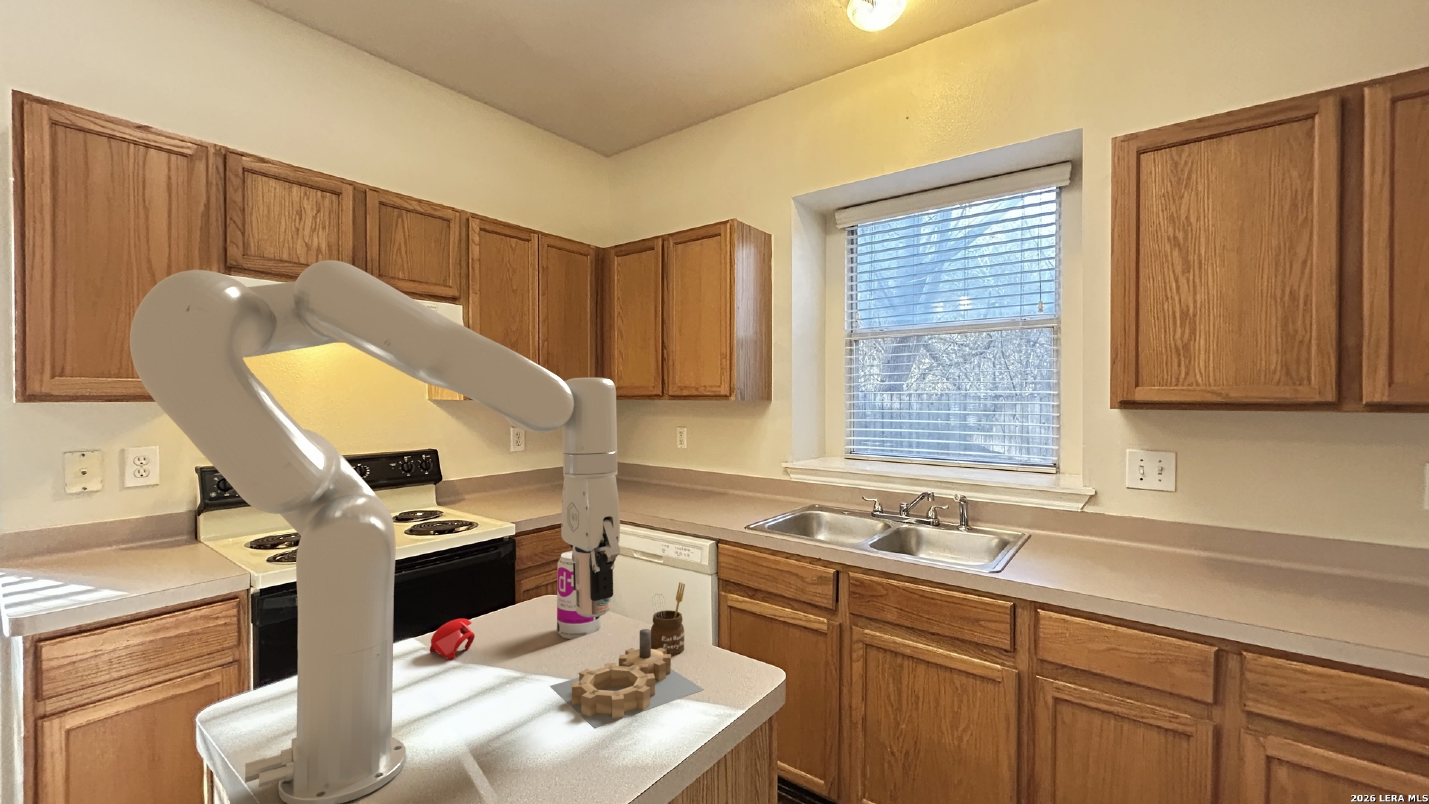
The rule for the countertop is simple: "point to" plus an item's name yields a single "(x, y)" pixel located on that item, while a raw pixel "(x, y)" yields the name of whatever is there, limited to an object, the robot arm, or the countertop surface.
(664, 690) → the gear board
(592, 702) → the oak gear
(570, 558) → the supplement can
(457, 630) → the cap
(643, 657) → the small gear
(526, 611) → the countertop surface
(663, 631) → the utensil holder
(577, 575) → the beer can
